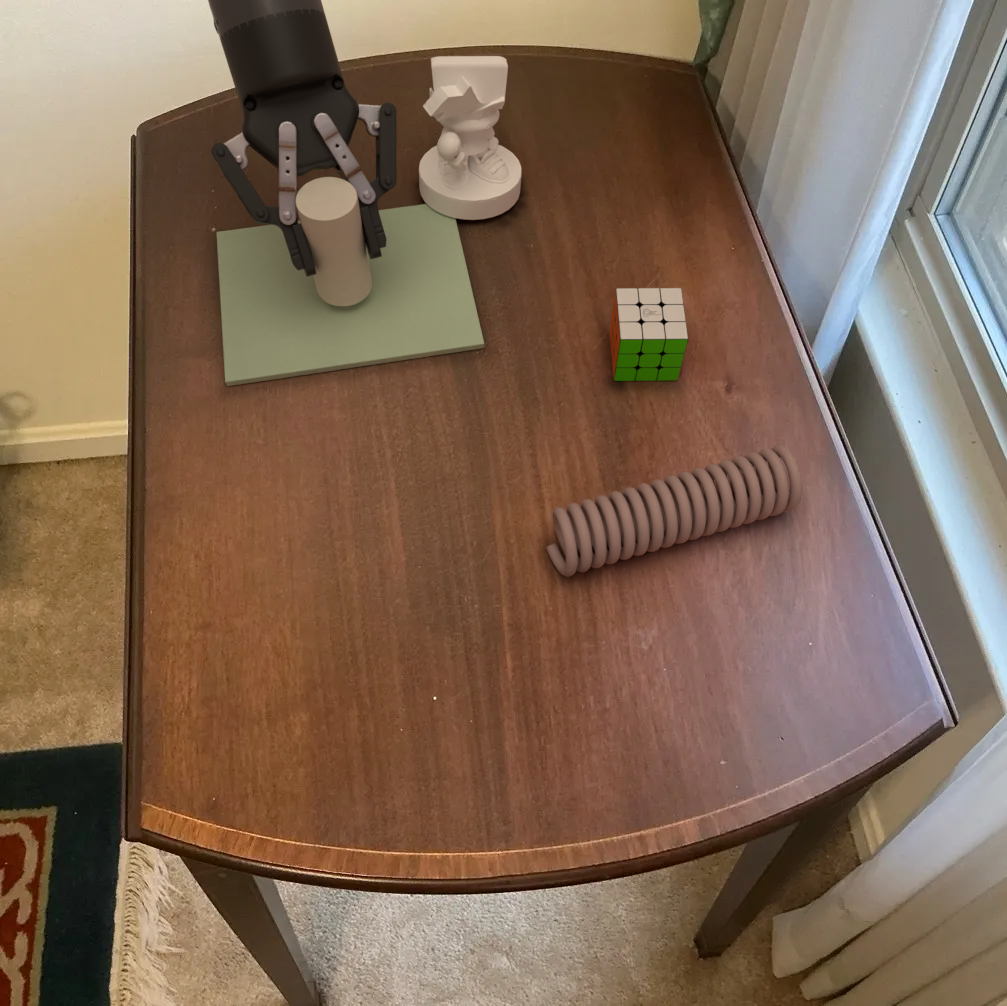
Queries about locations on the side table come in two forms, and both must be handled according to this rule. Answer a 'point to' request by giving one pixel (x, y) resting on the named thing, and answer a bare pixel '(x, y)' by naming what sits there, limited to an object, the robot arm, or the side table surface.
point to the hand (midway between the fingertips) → (344, 265)
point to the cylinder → (335, 240)
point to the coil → (675, 510)
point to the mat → (345, 329)
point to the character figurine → (468, 140)
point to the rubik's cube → (648, 334)
